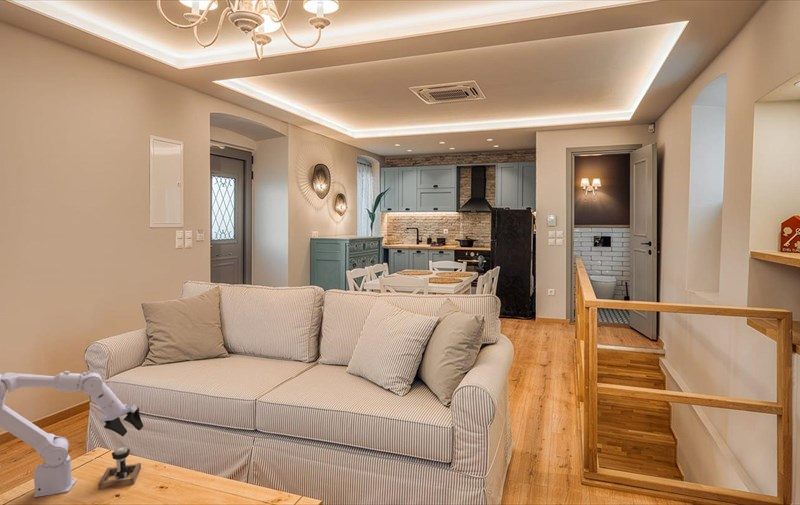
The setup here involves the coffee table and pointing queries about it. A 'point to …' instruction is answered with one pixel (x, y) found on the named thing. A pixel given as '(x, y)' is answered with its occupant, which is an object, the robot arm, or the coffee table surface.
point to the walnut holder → (119, 482)
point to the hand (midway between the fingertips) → (133, 431)
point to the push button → (121, 462)
